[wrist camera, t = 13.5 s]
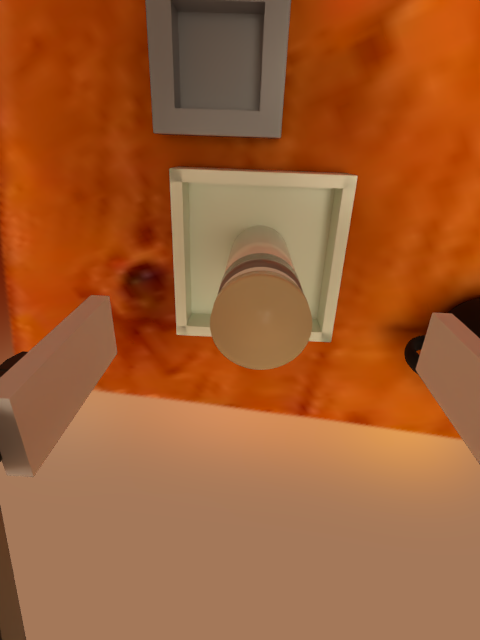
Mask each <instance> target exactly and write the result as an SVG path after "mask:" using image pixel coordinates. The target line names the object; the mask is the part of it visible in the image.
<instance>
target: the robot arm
mask: <svg viewBox="0 0 480 640" xmlns="http://www.w3.org/2000/svg"><path fill="white" fill-rule="evenodd" d="M116 354H117V348H116V341H115V334H114V327H113V319H112V312H111V305H110V297H109V296H98V295H91V296H90V297H88V298H87V299H86V300H85V301H84V302H83V303H82V304H81V305H80V306H79V307H77V308H76V309H75V310H74V311H73V312H72V313H71V314H70V315H69V316H68V317H66V318H65V319H64V320H63V321H62V322H61V323H60V324H59V325H58V326H57V327H55V328H54V329H53V330H52V331H51V332H50V333H49V334H48V335H47V336H46V337H44V338H43V339H42V340H41V341H40V342H39V343H38V344H37V345H36V346H35V347H33V348H32V349H31V350H30V351H29V352H21V353H19V354H17V355H15V356H13V357H11V358H9V359H7V360H6V361H5V362H3V364H1V365H0V462H1V460H2V463H3V466H4V468H5V471H6V474H7V475H10V476H25V477H34V476H35V474H36V473H37V471H38V470H39V468H40V467H41V465H42V464H43V462H44V461H45V460H46V458H47V457H48V455H49V454H50V452H51V451H52V449H53V448H54V446H55V445H56V443H57V442H58V440H59V439H60V437H61V436H62V434H63V433H64V431H65V430H66V428H67V427H68V425H69V424H70V422H71V421H72V420H73V418H74V416H75V415H76V413H77V412H78V411H79V409H80V408H81V406H82V405H83V403H84V402H85V400H86V399H87V397H88V396H89V394H90V393H91V391H92V390H93V388H94V387H95V385H96V384H97V382H98V381H99V379H100V378H101V377H102V375H103V374H104V372H105V371H106V369H107V368H108V366H109V365H110V363H111V362H112V360H113V359H114V357H115V356H116ZM416 371H417V373H418V374H419V376H420V377H421V379H422V380H423V382H424V383H425V385H426V386H427V388H428V389H429V391H430V392H431V394H432V395H433V396H434V398H435V399H436V401H437V402H438V404H439V405H440V407H441V408H442V410H443V411H444V413H445V414H446V416H447V417H448V419H449V420H450V422H451V423H452V424H453V426H454V427H455V429H456V430H457V432H458V433H459V435H460V436H461V438H462V439H463V441H464V442H465V444H466V445H467V446H468V448H469V449H470V451H471V452H472V454H473V455H474V457H475V458H476V460H477V461H478V463H479V464H480V338H479V337H478V336H476V335H475V334H474V333H473V332H472V331H471V330H470V329H469V328H468V327H466V326H465V325H464V324H463V323H462V322H461V321H460V320H459V319H457V318H456V317H455V316H454V315H453V314H452V313H432V316H431V319H430V323H429V326H428V329H427V333H426V336H425V339H424V343H423V346H422V349H421V353H420V356H419V359H418V363H417V366H416ZM0 640H26V637H25V632H24V626H23V621H22V616H21V611H20V606H19V600H18V595H17V590H16V585H15V580H14V574H13V569H12V564H11V559H10V554H9V549H8V543H7V538H6V533H5V528H4V523H3V517H2V513H1V508H0Z"/></svg>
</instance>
